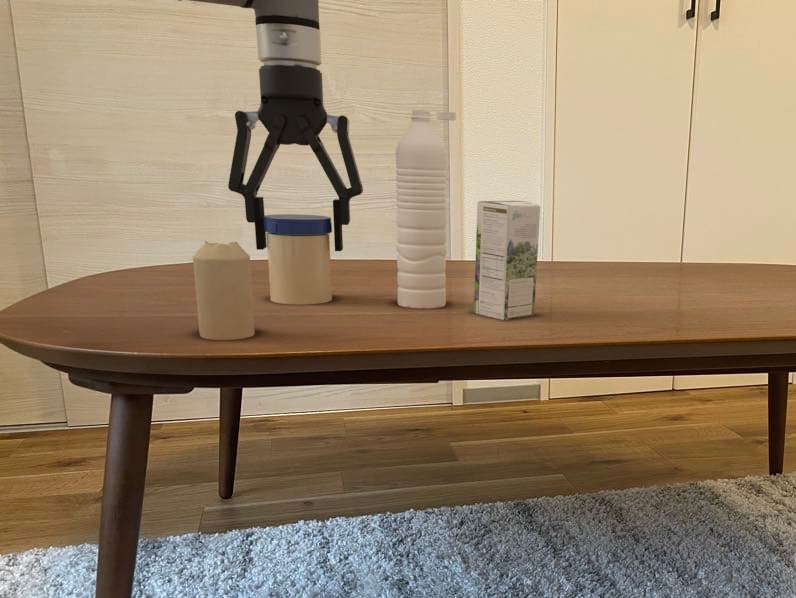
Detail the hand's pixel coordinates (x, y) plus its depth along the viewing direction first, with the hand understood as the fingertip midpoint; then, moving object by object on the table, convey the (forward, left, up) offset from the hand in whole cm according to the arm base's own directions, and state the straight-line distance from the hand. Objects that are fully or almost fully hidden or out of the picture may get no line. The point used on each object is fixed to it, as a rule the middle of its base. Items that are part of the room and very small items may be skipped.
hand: (300, 249), depth 103 cm
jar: (0, 0, -7) cm, 7 cm away
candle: (-19, -13, -7) cm, 24 cm away
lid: (0, 0, +4) cm, 4 cm away
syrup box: (+13, -25, -7) cm, 29 cm away
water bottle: (+11, -13, -7) cm, 18 cm away
